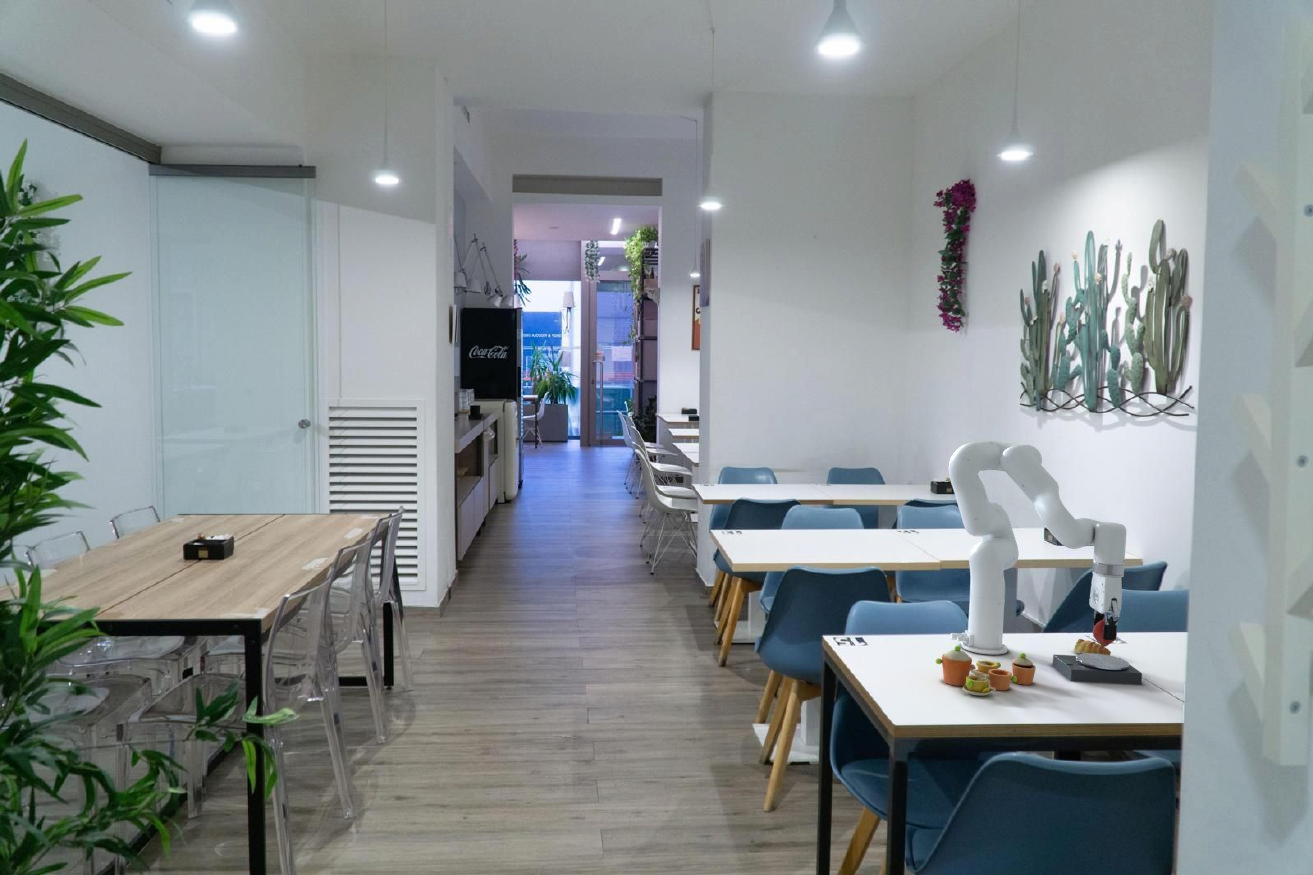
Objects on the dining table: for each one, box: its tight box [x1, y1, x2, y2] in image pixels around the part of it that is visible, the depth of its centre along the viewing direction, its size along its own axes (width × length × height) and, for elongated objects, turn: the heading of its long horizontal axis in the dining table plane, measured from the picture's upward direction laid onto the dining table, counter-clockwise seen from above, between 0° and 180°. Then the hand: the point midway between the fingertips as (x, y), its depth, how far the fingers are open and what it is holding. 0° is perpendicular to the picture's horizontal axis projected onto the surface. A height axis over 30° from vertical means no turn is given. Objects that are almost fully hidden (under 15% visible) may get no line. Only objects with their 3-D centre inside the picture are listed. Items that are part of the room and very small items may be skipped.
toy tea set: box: [935, 645, 1037, 697], centre depth 253 cm, size 26×16×10 cm, turn 122°
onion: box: [1092, 618, 1118, 648], centre depth 264 cm, size 6×6×8 cm
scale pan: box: [1075, 653, 1130, 670], centre depth 264 cm, size 13×13×1 cm
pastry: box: [1073, 638, 1112, 656], centre depth 283 cm, size 9×7×4 cm
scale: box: [1052, 654, 1143, 685], centre depth 265 cm, size 18×14×3 cm
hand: (1104, 635), depth 264 cm, fingers closed on onion, 6 cm apart
